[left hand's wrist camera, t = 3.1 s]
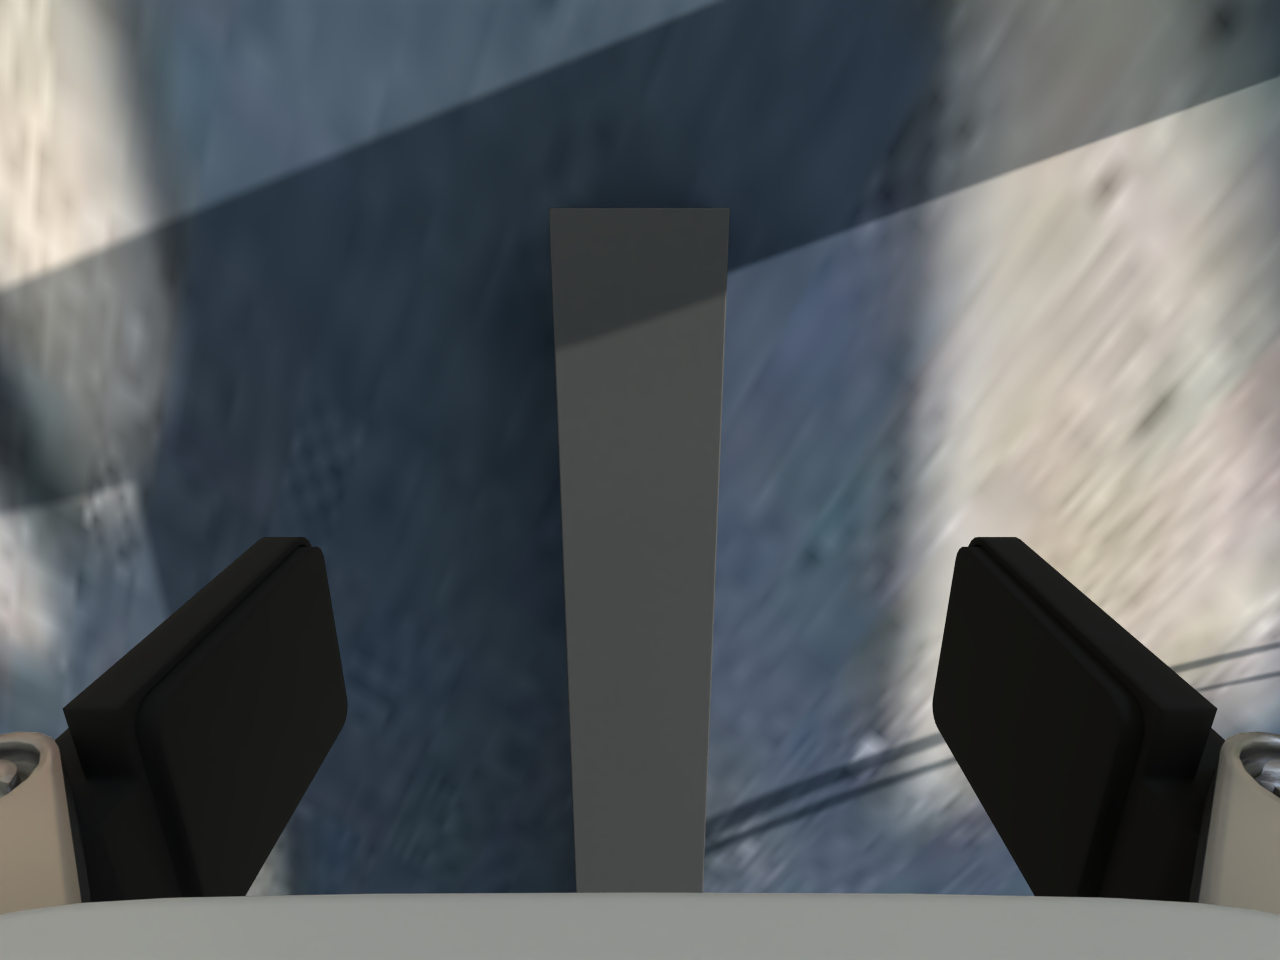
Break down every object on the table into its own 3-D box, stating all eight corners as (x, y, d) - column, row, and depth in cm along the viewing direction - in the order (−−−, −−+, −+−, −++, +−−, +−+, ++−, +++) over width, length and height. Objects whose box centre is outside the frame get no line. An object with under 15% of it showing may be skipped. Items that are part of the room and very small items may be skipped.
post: (565, 208, 30) (548, 207, 24) (713, 208, 30) (730, 207, 24) (600, 1269, 56) (595, 1385, 50) (679, 1269, 56) (683, 1385, 50)
